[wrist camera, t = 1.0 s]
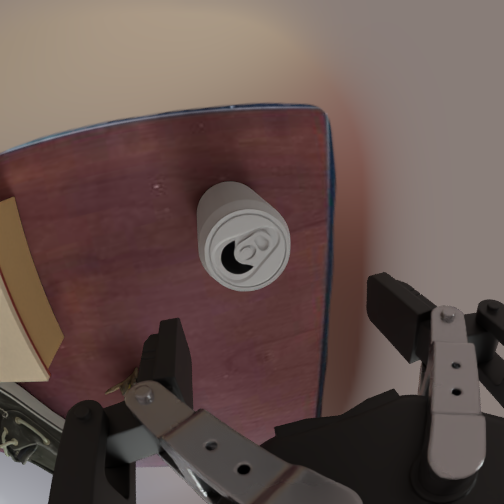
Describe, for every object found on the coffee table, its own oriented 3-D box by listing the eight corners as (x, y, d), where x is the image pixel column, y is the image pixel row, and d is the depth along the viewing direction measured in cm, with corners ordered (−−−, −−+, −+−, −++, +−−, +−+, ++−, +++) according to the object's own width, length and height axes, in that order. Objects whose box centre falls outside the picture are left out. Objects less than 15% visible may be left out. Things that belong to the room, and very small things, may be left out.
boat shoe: (-37, 339, 30) (-66, 377, 21) (124, 440, 41) (119, 489, 32) (-40, 376, 32) (-63, 411, 23) (102, 463, 42) (96, 505, 33)
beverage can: (183, 204, 30) (177, 242, 19) (237, 167, 30) (263, 183, 19) (220, 254, 33) (234, 313, 22) (272, 218, 32) (312, 261, 21)
